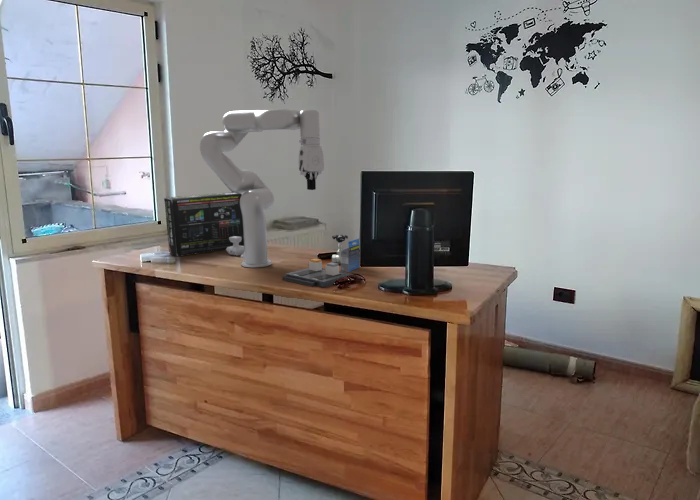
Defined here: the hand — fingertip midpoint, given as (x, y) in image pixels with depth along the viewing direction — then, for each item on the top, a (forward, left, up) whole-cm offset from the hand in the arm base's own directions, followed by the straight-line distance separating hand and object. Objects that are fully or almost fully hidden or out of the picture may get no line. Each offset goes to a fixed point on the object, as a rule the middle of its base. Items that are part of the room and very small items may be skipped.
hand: (311, 189), depth 222 cm
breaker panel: (+14, -12, -32) cm, 37 cm away
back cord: (+14, -2, -32) cm, 35 cm away
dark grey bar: (+12, -20, -32) cm, 40 cm away
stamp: (-48, -2, -32) cm, 58 cm away
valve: (+3, +13, -32) cm, 35 cm away
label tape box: (+13, +8, -32) cm, 36 cm away
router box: (-68, -4, -32) cm, 75 cm away
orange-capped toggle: (+9, -8, -30) cm, 32 cm away
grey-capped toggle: (+19, -9, -30) cm, 37 cm away
